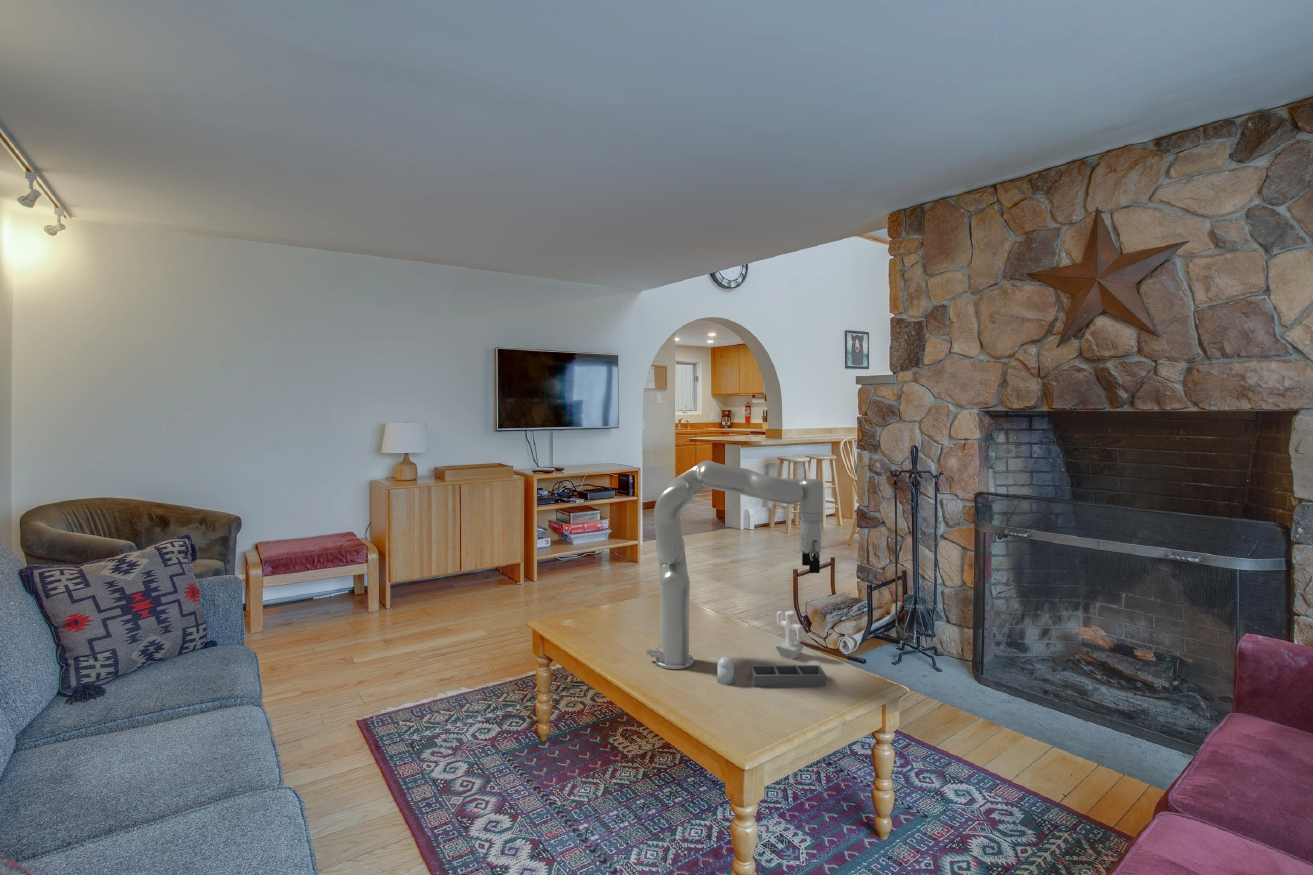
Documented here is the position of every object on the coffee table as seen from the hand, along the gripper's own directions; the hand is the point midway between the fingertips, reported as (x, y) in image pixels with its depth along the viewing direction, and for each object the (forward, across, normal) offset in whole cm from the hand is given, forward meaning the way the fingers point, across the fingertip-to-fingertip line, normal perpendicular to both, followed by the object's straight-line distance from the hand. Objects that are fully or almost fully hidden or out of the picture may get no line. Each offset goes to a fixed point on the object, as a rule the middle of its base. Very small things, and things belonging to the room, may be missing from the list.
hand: (810, 568), depth 211 cm
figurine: (+31, -5, -6) cm, 32 cm away
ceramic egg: (+31, +15, -30) cm, 45 cm away
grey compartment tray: (+31, +15, -11) cm, 36 cm away
